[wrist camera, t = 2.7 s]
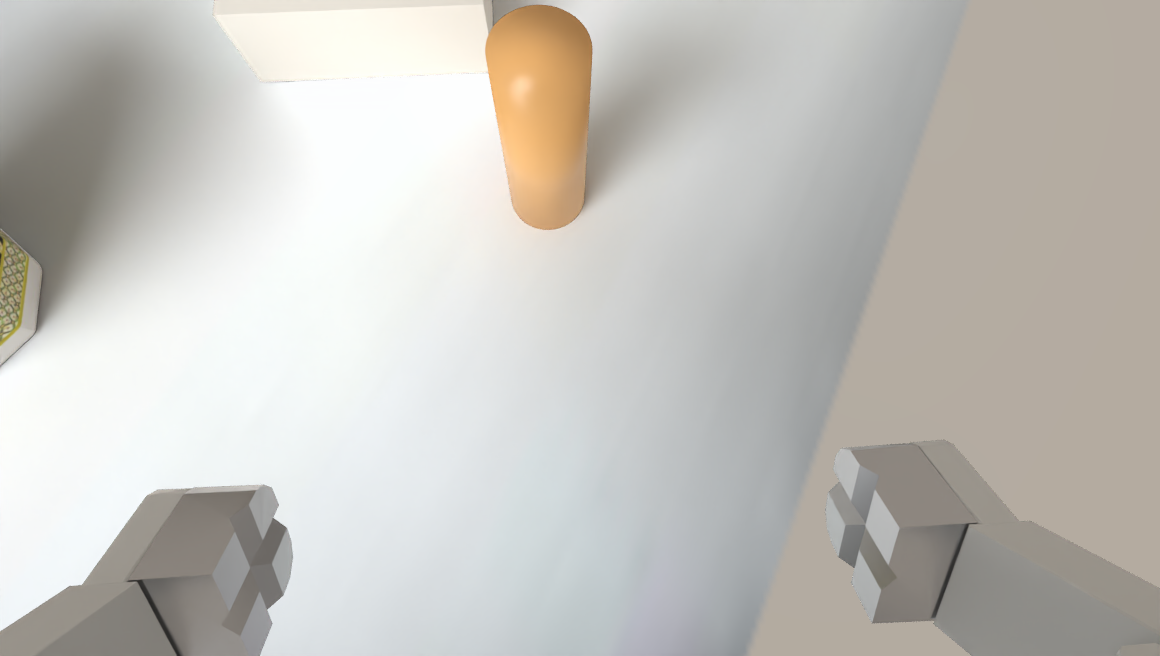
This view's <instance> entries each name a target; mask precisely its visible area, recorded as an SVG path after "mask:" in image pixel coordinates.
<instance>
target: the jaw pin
mask: <svg viewBox="0 0 1160 656" xmlns="http://www.w3.org/2000/svg"><path fill="white" fill-rule="evenodd" d="M485 55H486V62H487V67H488V73H489V78H490V84H491V89H492V95H493V100H494V106H495V111H496V117H497V123H498V128H499V134H500V139H501V145H502V150H503V156H504V161H505V167H506V172H507V178H508V183H509V189H510V194H511V200H512V204H513V208H514V210H515V212H516V213H517V215H518V216H519V217H520V219H522V220H523V221H524V222H525V223H527V224H528V225H530V226H532V227H535V228H538V229H544V230H552V229H557V228H561V227H564V226H566V225H567V224H569V223H570V222H572V221H573V220H574V219H575V218H576V217H577V216H578V214H579V213H580V211H581V209H582V207H583V203H584V195H585V177H586V159H587V141H588V122H589V104H590V86H591V68H592V42H591V39H590V36H589V34H588V32H587V30H586V28H585V27H584V25H583V24H582V23H581V22H580V21H579V20H578V19H577V18H576V17H575V16H573V15H572V14H570V13H568V12H566V11H564V10H562V9H560V8H557V7H553V6H547V5H530V6H525V7H521V8H518V9H515V10H513V11H511V12H509V13H508V14H506V15H505V16H503V17H502V18H501V19H500V20H499V21H498V22H497V23H496V24H495V25H494V26H493V28H492V29H491V31H490V33H489V35H488V38H487V41H486V46H485Z"/></svg>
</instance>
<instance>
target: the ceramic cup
mask: <svg viewBox="0 0 1160 656" xmlns="http://www.w3.org/2000/svg"><path fill="white" fill-rule="evenodd" d="M41 282H42V269H41V266H40V264H39V263H38V262H37V261H36V260H35V259H34V258H33V257H32V256H31V255H29V254H28V253H27V252H26V251H25V250H24V249H23V248H22V247H21V246H20V245H19V244H18V243H16V242H15V241H14V240H13V239H12V238H11V237H10V236H9V235H8V234H7V233H6V232H4V231H3V230H2V229H1V228H0V365H2V364H3V363H4V362H5V361H6V360H7V359H8V358H9V357H10V356H11V355H12V354H13V353H15V352H16V351H17V350H18V349H19V348H20V347H21V346H22V345H23V344H24V343H25V342H26V341H27V340H29V339H30V338H31V337H32V336H33V335H34V333H35V331H36V323H37V315H38V307H39V298H40V290H41Z"/></svg>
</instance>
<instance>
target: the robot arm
mask: <svg viewBox="0 0 1160 656" xmlns="http://www.w3.org/2000/svg"><path fill="white" fill-rule="evenodd" d="M833 470H834V472H835V474H836V475H837V477H838V479H839V482H838V483H837V484H836V485H835V486H834V487H833V488H832V489H831V490H830V491H829V492H828V497H827V503H826V509H825V511H826V521H827V529H828V533H829V536H830V539H831V542H832V545H833V547H834V549H835V551H836V553H837V555H838V557H839V558H841V559H842V560H844V561H845V562H846V563H848V564H849V565H851V566H852V567H853V568H855V569H854V573H853V577H852V582H851V583H852V585H853V587H854V589H855V591H856V593H857V595H858V597H859V599H860V601H861V603H862V605H863V607H864V609H865V610H866V613H867V615H868V617H869V618H870V620H871V622H872V623H889V622H890V623H892V622H912V621H934V623H933V624H934V625H935V626H937V627H938V628H939V629H941V630H942V631H943V632H944V633H945V634H946V635H947V636H949V637H950V638H951V639H952V640H953V641H955V642H956V643H957V644H958V645H959V646H961V647H962V648H963V649H964V650H965V651H966V652H968V653H969V654H970V655H971V656H1160V588H1158V587H1156V586H1154V585H1153V584H1151V583H1149V582H1147V581H1145V580H1143V579H1141V578H1139V577H1137V576H1135V575H1133V574H1131V573H1130V572H1128V571H1126V570H1124V569H1122V568H1120V567H1118V566H1116V565H1114V564H1112V563H1110V562H1109V561H1106V560H1105V559H1103V558H1101V557H1099V556H1097V555H1095V554H1093V553H1091V552H1089V551H1087V550H1086V549H1083V548H1082V547H1080V546H1078V545H1076V544H1074V543H1072V542H1070V541H1068V540H1066V539H1065V538H1062V537H1061V536H1059V535H1057V534H1055V533H1053V532H1051V531H1049V530H1047V529H1045V528H1043V527H1041V526H1039V525H1038V524H1036V523H1034V522H1032V521H1019V520H1018V519H1017V518H1016V517H1015V516H1014V514H1013V513H1012V512H1011V511H1010V510H1009V509H1008V507H1007V506H1006V505H1005V504H1004V503H1003V502H1002V500H1001V499H1000V498H999V497H998V496H997V495H996V493H995V492H994V491H993V490H992V489H991V488H990V486H989V485H988V484H987V483H986V482H985V481H984V480H983V478H982V477H981V476H980V475H979V474H978V472H977V471H976V470H975V469H974V468H973V467H972V466H971V464H970V463H969V462H968V461H967V460H966V459H965V457H964V456H963V455H962V454H961V453H960V451H959V450H958V449H957V448H956V447H955V446H954V445H953V444H951V443H950V442H948V441H946V440H936V441H923V442H911V443H909V444H890V445H878V446H864V447H849V448H841V449H840V451H839V452H838V453H837V455H836V458H835V463H834V467H833ZM278 506H279V504H278V502H277V499H276V497H275V494H274V492H273V489H272V488H271V487H269V486H266V485H244V486H219V487H195V488H192V489H162V490H156V491H154V492H153V493H151V494H149V495H147V496H146V497H145V499H144V500H143V501H142V503H141V504H140V505H139V507H138V508H137V510H136V511H135V512H134V514H133V515H132V516H131V518H130V519H129V521H128V522H127V523H126V525H125V526H124V528H123V529H122V530H121V532H120V533H119V534H118V536H117V537H116V539H115V540H114V541H113V543H112V544H111V546H110V547H109V548H108V550H107V551H106V552H105V554H104V555H103V557H102V558H101V559H100V561H99V562H98V563H97V565H96V566H95V568H94V569H93V570H92V572H91V573H90V575H89V576H88V577H87V579H86V580H85V581H84V583H83V584H82V585H78V586H69V587H68V588H66V589H64V590H63V591H61V592H60V593H58V594H57V595H55V596H54V597H52V598H51V599H49V600H48V601H46V602H45V603H43V604H42V605H40V606H39V607H37V608H35V609H34V610H32V611H31V612H29V613H28V614H26V615H25V616H23V617H22V618H20V619H19V620H17V621H16V622H14V623H13V624H11V625H10V626H8V627H7V628H5V629H3V630H2V631H0V656H260V653H261V651H262V648H263V646H264V643H265V641H266V638H267V636H268V633H269V631H270V628H271V626H272V621H271V619H270V616H269V614H268V611H267V609H268V608H270V607H271V606H272V605H273V604H274V603H275V602H276V601H278V600H279V599H280V598H281V597H282V596H283V595H284V593H285V590H286V587H287V584H288V582H289V579H290V574H291V567H292V559H293V553H292V544H291V539H290V536H289V533H288V530H287V528H286V527H285V526H284V525H282V524H281V523H279V522H278V521H277V520H275V519H274V518H273V517H274V515H275V512H276V510H277V508H278Z"/></svg>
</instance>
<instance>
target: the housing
mask: <svg viewBox="0 0 1160 656" xmlns="http://www.w3.org/2000/svg"><path fill="white" fill-rule="evenodd" d="M213 16H214V18H215V19H216V20H217V22H218V23H219V25H220V26H221V27H222V29H223V30H224V32H225V33H226V34H227V36H228V37H229V39H230V40H231V41H232V43H233V44H234V45H235V47H236V48H237V50H238V51H239V52H240V54H241V55H242V57H243V58H244V59H245V61H246V62H247V64H248V65H249V66H250V68H251V69H252V70H253V72H254V73H255V75H256V76H257V77H258V79H259V80H260V82H280V81H303V80H326V79H349V78H372V77H395V76H418V75H441V74H464V73H488V67H487V62H486V55H485V46H486V41H487V38H488V35H489V33H490V31H491V29H492V28H493V6H492V0H214V7H213Z"/></svg>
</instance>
